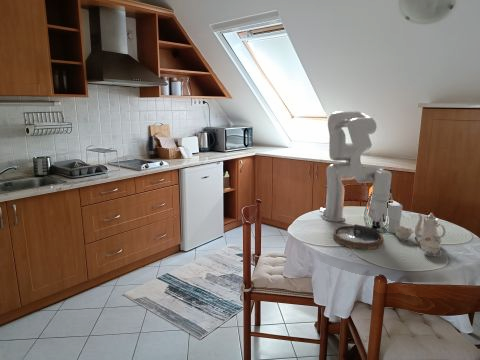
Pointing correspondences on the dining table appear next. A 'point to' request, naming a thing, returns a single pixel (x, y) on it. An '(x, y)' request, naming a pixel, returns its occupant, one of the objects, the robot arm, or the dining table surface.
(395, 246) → the dining table surface
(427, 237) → the chinaware
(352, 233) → the dial
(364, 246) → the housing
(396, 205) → the skincare box
